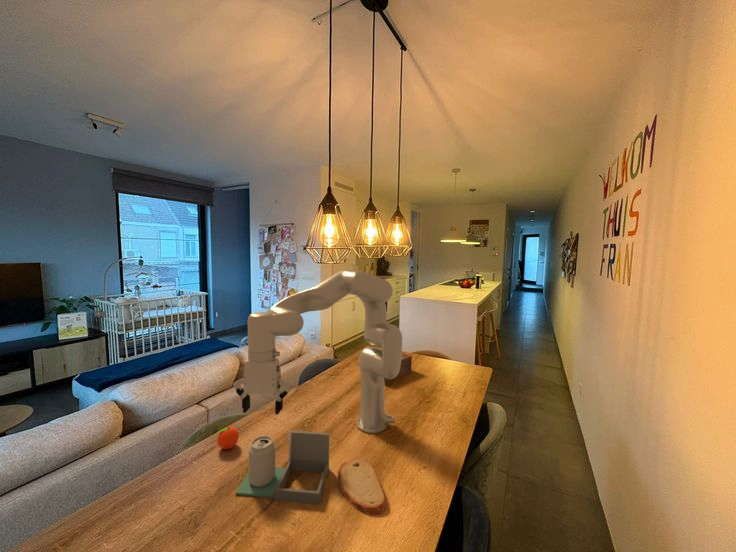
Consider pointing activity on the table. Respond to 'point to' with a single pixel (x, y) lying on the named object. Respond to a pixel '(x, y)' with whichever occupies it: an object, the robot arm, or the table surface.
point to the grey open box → (305, 464)
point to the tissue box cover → (403, 366)
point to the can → (261, 461)
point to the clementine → (227, 437)
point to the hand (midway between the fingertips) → (262, 411)
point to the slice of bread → (362, 486)
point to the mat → (262, 491)
